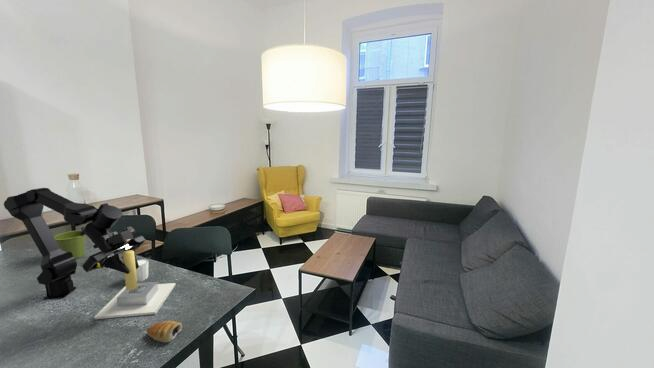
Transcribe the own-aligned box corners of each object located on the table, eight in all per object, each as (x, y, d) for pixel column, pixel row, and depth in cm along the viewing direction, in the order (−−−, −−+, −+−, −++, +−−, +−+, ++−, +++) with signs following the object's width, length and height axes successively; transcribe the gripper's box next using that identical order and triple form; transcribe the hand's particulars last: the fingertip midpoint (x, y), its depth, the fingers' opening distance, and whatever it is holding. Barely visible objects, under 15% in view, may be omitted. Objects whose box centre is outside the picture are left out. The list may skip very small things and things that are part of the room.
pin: (125, 291, 90) (121, 255, 88) (126, 286, 93) (123, 251, 90) (137, 288, 92) (133, 253, 89) (138, 284, 94) (134, 249, 92)
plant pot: (76, 250, 134) (72, 229, 132) (96, 252, 132) (93, 231, 130) (48, 261, 122) (44, 238, 120) (71, 263, 121) (67, 240, 119)
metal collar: (117, 307, 91) (116, 297, 90) (131, 292, 100) (130, 283, 99) (146, 304, 93) (146, 295, 92) (158, 290, 101) (157, 281, 101)
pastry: (140, 340, 78) (139, 328, 77) (158, 324, 85) (157, 314, 84) (169, 344, 77) (168, 333, 76) (185, 328, 83) (184, 317, 83)
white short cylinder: (139, 283, 107) (138, 267, 105) (125, 281, 108) (123, 265, 107) (153, 275, 113) (152, 260, 112) (140, 273, 114) (138, 258, 113)
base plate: (94, 319, 86) (94, 317, 86) (125, 288, 103) (125, 286, 103) (155, 314, 89) (155, 311, 89) (175, 284, 107) (175, 283, 106)
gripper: (85, 231, 80) (120, 270, 80) (139, 214, 98) (167, 245, 98) (67, 253, 82) (101, 290, 82) (122, 232, 100) (150, 263, 101)
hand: (133, 270), depth 91 cm, fingers closed on pin, 3 cm apart
